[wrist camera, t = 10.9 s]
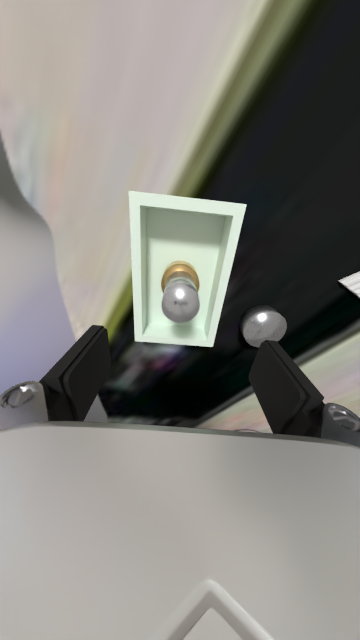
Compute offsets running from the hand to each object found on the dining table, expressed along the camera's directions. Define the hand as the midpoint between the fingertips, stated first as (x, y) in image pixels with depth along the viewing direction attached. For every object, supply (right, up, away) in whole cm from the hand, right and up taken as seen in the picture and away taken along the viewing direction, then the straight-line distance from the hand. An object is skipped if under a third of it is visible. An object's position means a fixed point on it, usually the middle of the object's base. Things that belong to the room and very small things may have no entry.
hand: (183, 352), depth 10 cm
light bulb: (0, +8, +12) cm, 15 cm away
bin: (0, +8, +13) cm, 15 cm away
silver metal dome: (+12, +2, +16) cm, 21 cm away
